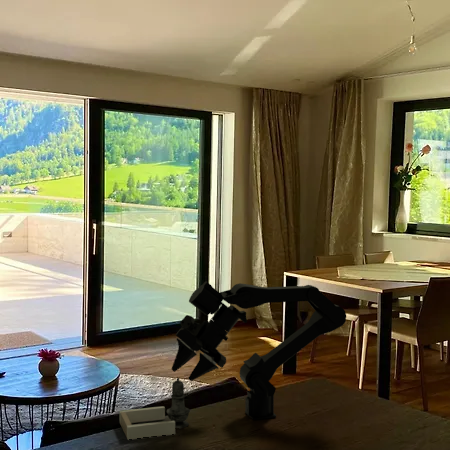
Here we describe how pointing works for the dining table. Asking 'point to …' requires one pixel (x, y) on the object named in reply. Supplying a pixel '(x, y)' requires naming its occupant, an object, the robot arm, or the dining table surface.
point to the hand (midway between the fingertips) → (181, 375)
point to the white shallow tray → (145, 429)
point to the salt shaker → (178, 405)
